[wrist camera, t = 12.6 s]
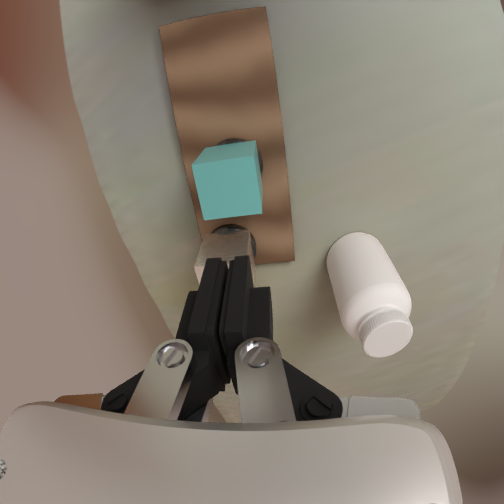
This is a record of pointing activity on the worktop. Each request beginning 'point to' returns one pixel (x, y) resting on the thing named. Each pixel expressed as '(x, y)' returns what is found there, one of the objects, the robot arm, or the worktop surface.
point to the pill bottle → (369, 294)
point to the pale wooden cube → (226, 247)
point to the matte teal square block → (229, 180)
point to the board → (232, 112)
